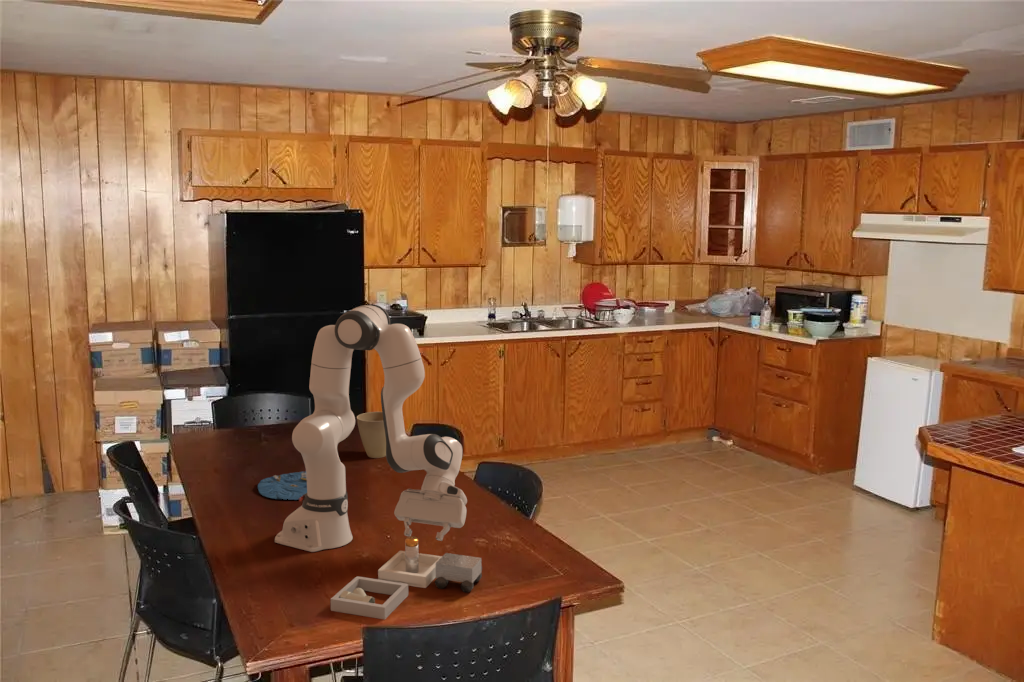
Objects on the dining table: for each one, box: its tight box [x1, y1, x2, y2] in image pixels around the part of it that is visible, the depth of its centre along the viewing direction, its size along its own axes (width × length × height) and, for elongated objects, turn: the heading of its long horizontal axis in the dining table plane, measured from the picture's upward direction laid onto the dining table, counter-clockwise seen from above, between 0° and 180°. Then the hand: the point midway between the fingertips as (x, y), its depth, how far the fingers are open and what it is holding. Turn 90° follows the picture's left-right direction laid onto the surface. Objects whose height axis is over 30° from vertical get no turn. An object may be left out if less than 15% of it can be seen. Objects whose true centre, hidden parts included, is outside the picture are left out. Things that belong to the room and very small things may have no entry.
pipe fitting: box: [340, 588, 376, 604], centre depth 206 cm, size 8×4×7 cm
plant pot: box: [356, 411, 386, 459], centre depth 330 cm, size 15×15×16 cm
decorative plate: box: [257, 471, 307, 501], centre depth 294 cm, size 30×30×5 cm
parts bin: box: [330, 576, 409, 620], centre depth 208 cm, size 14×13×3 cm
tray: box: [377, 550, 443, 589], centre depth 224 cm, size 13×13×3 cm
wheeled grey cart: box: [434, 552, 483, 594], centre depth 221 cm, size 10×14×6 cm
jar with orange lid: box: [404, 535, 420, 573], centre depth 224 cm, size 4×4×9 cm
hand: (422, 537), depth 230 cm, fingers open, 8 cm apart
